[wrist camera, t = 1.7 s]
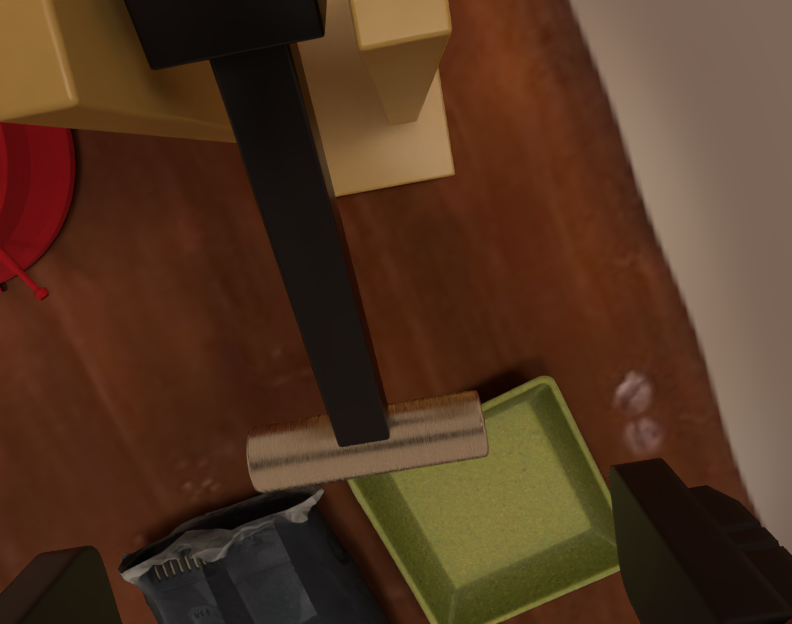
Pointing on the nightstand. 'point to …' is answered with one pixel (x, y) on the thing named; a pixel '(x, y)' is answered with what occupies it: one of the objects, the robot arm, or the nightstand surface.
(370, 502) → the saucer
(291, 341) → the nightstand surface
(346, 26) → the bracket
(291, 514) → the electronic device
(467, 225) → the nightstand surface
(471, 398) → the lever
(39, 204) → the alarm clock
